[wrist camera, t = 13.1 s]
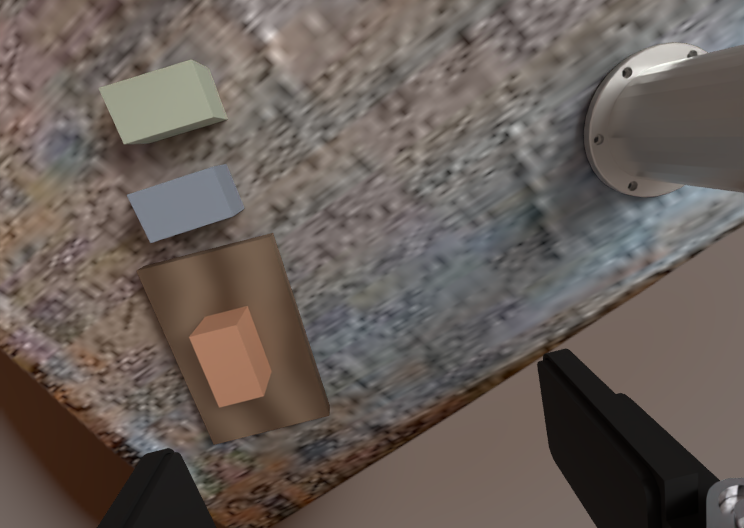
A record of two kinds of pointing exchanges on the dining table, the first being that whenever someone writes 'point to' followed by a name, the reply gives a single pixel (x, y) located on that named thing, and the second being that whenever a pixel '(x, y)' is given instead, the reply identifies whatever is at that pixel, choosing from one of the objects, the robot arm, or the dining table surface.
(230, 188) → the slate brick
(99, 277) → the dining table surface
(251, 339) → the terracotta brick
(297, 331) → the oak board
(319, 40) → the dining table surface
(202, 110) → the sage brick
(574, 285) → the dining table surface
